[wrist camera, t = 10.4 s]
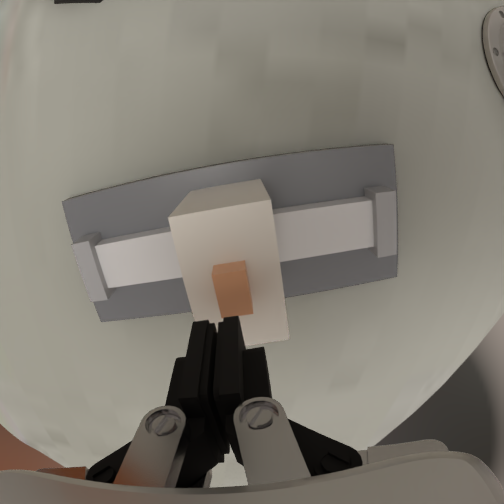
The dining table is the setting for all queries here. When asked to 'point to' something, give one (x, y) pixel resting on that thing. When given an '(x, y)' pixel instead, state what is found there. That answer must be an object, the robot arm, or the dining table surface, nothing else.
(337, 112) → the dining table surface
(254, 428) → the robot arm
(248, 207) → the block
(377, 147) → the rail plate
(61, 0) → the figurine
